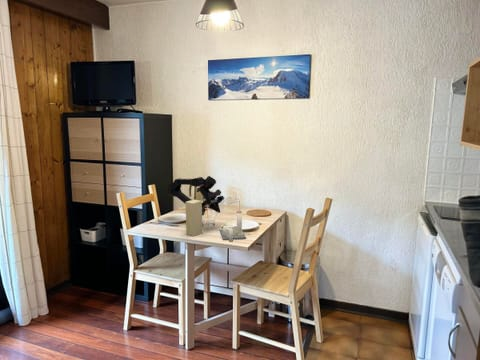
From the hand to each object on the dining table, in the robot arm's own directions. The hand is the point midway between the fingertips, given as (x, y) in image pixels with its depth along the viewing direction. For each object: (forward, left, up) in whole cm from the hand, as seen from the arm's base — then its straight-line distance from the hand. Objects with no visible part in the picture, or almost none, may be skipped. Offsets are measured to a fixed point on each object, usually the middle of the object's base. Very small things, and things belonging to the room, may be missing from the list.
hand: (219, 212), depth 223 cm
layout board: (+10, +7, -12) cm, 17 cm away
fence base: (+16, +3, -12) cm, 21 cm away
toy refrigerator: (+3, -17, -12) cm, 21 cm away
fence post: (+11, +8, -11) cm, 18 cm away
